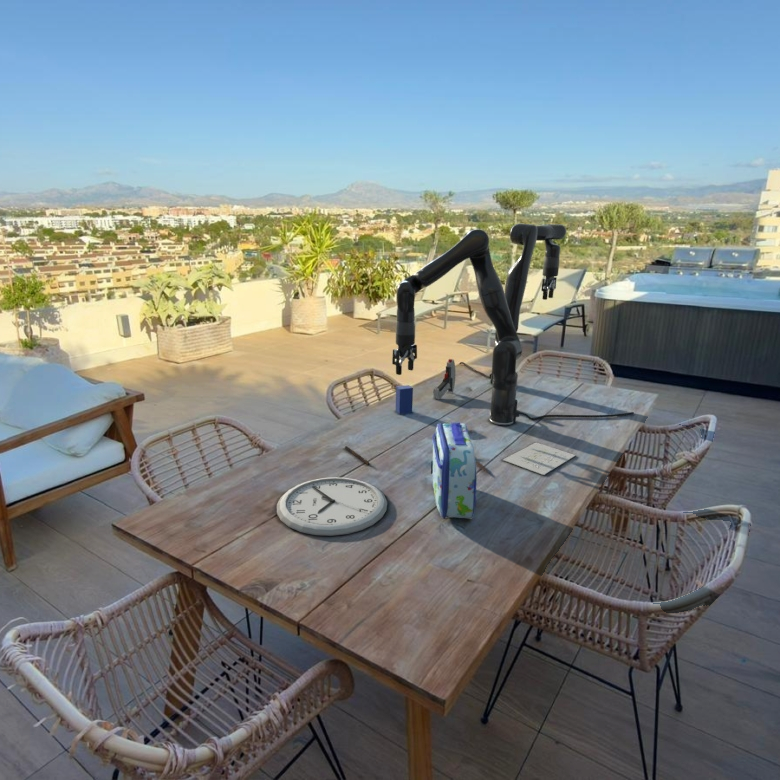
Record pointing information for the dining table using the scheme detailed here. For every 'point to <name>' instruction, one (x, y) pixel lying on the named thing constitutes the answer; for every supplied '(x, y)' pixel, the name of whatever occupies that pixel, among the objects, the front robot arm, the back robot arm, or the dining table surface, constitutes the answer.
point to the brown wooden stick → (357, 455)
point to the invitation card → (539, 458)
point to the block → (404, 399)
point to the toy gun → (446, 381)
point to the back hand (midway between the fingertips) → (547, 298)
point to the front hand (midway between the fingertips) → (404, 372)
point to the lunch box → (454, 471)
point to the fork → (481, 466)
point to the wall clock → (331, 506)
